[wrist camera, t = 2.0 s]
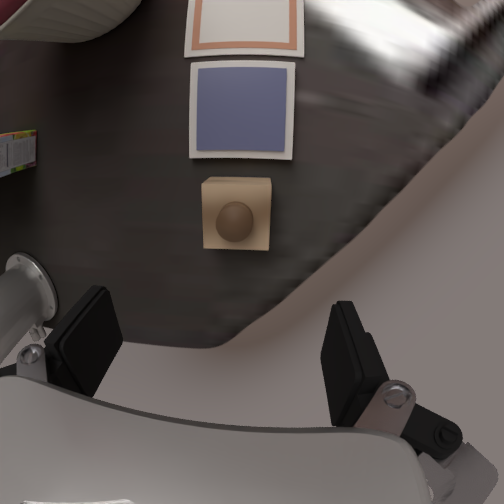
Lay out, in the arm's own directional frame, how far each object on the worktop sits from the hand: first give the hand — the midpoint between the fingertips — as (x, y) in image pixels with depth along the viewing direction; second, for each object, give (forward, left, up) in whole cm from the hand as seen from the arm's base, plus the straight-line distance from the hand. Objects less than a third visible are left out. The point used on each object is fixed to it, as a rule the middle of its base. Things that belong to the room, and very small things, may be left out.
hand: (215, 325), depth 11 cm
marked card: (+22, 0, -20) cm, 29 cm away
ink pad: (+10, 0, -20) cm, 22 cm away
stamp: (0, 0, -20) cm, 20 cm away
